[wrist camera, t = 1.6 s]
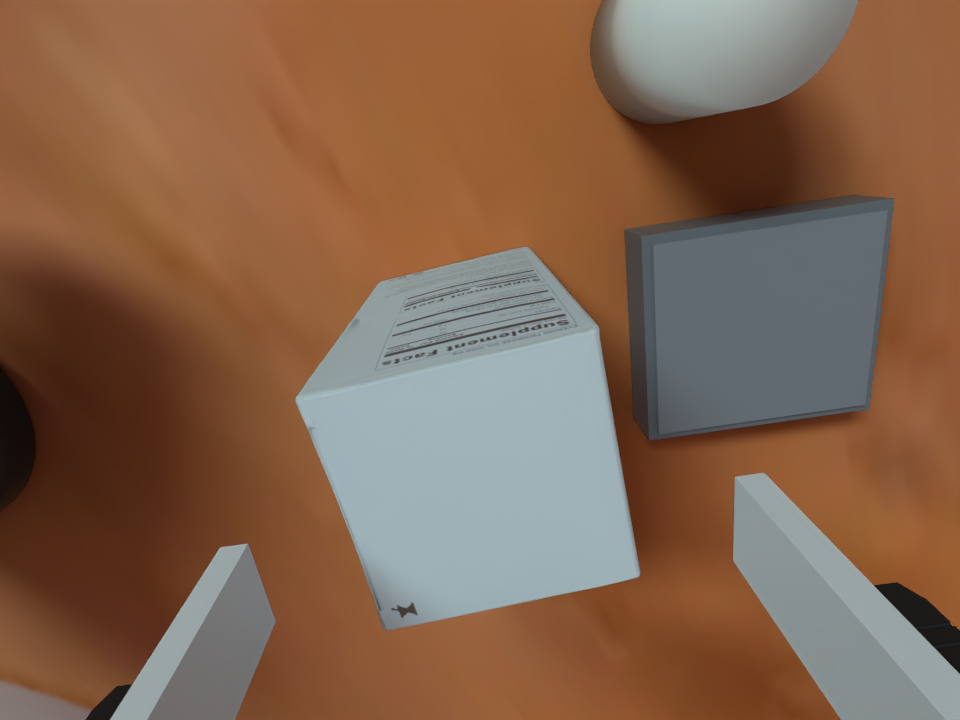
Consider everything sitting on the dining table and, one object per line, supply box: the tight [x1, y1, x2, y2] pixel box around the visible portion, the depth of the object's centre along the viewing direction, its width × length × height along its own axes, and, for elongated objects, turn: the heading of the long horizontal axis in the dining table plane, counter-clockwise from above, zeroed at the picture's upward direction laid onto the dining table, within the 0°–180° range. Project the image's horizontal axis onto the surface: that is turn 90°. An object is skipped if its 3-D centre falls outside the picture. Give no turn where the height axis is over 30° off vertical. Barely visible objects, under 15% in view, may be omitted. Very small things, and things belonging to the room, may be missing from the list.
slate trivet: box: [625, 195, 894, 441], centre depth 31 cm, size 13×12×3 cm
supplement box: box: [296, 247, 641, 630], centre depth 25 cm, size 10×9×17 cm
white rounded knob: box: [590, 0, 858, 124], centre depth 23 cm, size 8×8×9 cm
